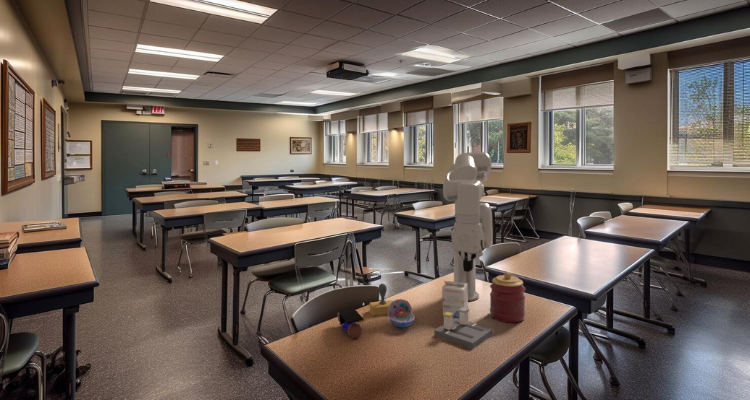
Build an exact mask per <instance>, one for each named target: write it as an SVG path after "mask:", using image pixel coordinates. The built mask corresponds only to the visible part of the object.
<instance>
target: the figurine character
mask: <svg viewBox="0 0 750 400" xmlns="http://www.w3.org/2000/svg"><path fill="white" fill-rule="evenodd" d="M336 314H337V321H338V323H339V325H340V326H341V327H340V328H341V330H344V331H345V332H347V335H348V336H349V338H351V339H359V337H361V335H362V334H363V333H362V332H363V327H362V326H361V325H360V324H359V323H358V322H363V321H365V319H364V317H363V316H362V315H361V314H360V313H359V312H358V311H357V310H356V309H355V308H353V309H347V310H343V311H338V312H337V313H336Z"/></svg>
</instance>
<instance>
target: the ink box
mask: <svg viewBox="0 0 750 400" xmlns="http://www.w3.org/2000/svg"><path fill="white" fill-rule="evenodd" d="M441 289H442V290H441V291H442V295H441V296H442V315H443V314H444V313H445V312H450V313H454V316H453V318H458V319H460V312H459V309H460V308H462V307H464V308H467V309H469V301H468V283H460V282H454V281H449V280H448V281H446V280H445V281H444V284H443V286H442V288H441Z"/></svg>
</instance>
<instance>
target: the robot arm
mask: <svg viewBox="0 0 750 400" xmlns="http://www.w3.org/2000/svg"><path fill="white" fill-rule="evenodd" d="M491 170H492V158H491V156H490V154H488V153H487V152H485V151H484V152H481V151H480V152H463V153H459V154H458V155H457V156H456V158H455V161H454V163H452V164H450V165H449V167H448V172H447V173H446V174H445V176H444V178H443V185H442V195H443V198H444V200H446V201H448V202H454V216H453V217H454V218H455V221H454V224H453V229H452V232H451V248H452V250H453V282H460V283H468V302H472V301H473V302H474V301H476V300H478V299H479V298H480V294H479V293H478V292H477V291H476V275H477V274H476V264H477V263H476V258H480V257H483V256H484V252H483V251H484V249H485V250H486V249H490V248H491V247H492V246H493V243H494V242H493V238H494V237H493V214H492V213H493V211H492V208H491V205H490V204H489V203H487V202H481V200H482V198H483V197H484V195H485V185H484V184H483V183H482V182H486V181H488V180H489V178H490V175H491Z"/></svg>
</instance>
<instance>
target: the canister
mask: <svg viewBox="0 0 750 400" xmlns="http://www.w3.org/2000/svg"><path fill="white" fill-rule="evenodd" d="M491 281H492V283H491V284H490V285H489V288H490V289H491V292H490V293H489V297H490V302H489V303H490V306H489V307H490V308H489V313H490V317H491V318H493V319H494V320H496V321H499V322H503V323H512V324H513V323H514V324H515V323H520V322H522V321H523V320H525V317H526V311H525V310H526V309H525V308H526V307H525V304H526V303H525V302H526V296H525V291H526V287H525V286H524V281H523V280H522V279H520V277H517V276H515V275H512V274H511V272H508V271H507V272H505V273H504V274H503V275H502V274H500V275H497V276H496V277H494V278H492V280H491Z"/></svg>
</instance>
